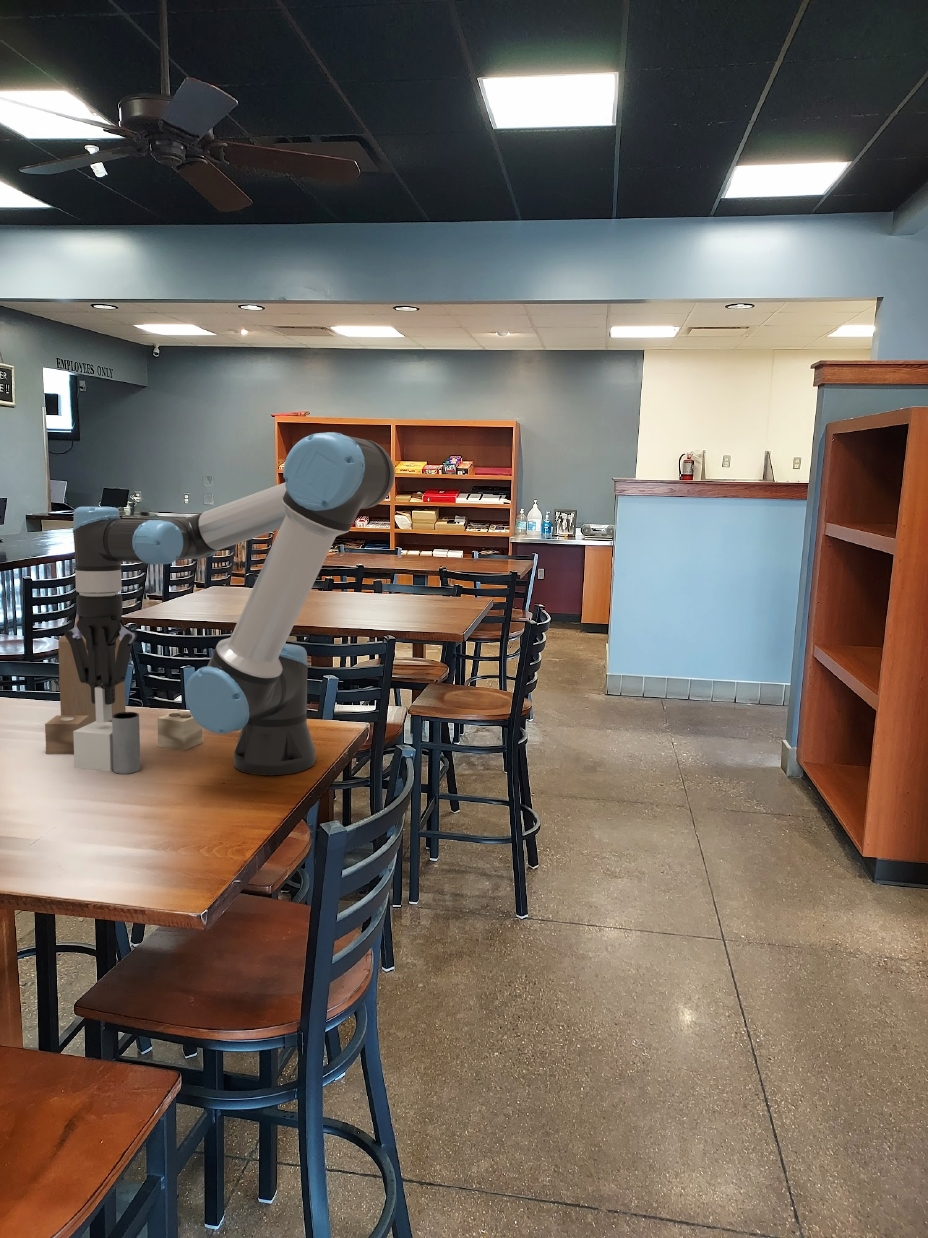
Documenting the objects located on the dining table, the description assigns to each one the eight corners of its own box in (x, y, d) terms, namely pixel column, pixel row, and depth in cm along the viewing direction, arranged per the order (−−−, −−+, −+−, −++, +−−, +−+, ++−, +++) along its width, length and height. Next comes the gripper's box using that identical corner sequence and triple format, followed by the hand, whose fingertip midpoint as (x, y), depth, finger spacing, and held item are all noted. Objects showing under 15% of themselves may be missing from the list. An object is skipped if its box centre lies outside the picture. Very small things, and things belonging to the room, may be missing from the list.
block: (107, 733, 168) (104, 638, 165) (59, 731, 168) (55, 636, 165) (127, 720, 178) (125, 630, 175) (82, 718, 178) (79, 628, 175)
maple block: (202, 742, 165) (202, 713, 164) (183, 751, 159) (183, 720, 158) (177, 739, 167) (176, 709, 166) (158, 747, 161) (157, 717, 160)
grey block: (131, 759, 153) (130, 723, 152) (110, 771, 146) (109, 734, 145) (97, 756, 154) (96, 721, 153) (74, 768, 147) (73, 731, 146)
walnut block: (89, 745, 161) (88, 714, 160) (79, 754, 155) (78, 723, 154) (57, 745, 160) (56, 714, 159) (46, 754, 154) (44, 723, 153)
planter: (145, 768, 148) (144, 714, 147) (126, 776, 144) (125, 719, 143) (127, 764, 150) (126, 710, 149) (107, 771, 146) (106, 716, 145)
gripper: (144, 592, 148) (148, 717, 152) (78, 589, 150) (83, 713, 153) (122, 597, 141) (126, 728, 144) (52, 594, 143) (58, 724, 146)
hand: (104, 720), depth 149 cm, fingers closed
